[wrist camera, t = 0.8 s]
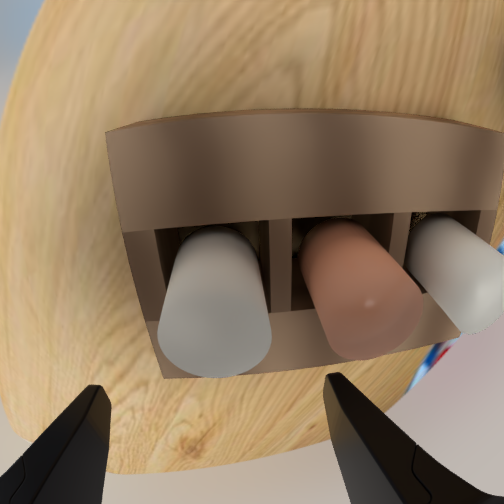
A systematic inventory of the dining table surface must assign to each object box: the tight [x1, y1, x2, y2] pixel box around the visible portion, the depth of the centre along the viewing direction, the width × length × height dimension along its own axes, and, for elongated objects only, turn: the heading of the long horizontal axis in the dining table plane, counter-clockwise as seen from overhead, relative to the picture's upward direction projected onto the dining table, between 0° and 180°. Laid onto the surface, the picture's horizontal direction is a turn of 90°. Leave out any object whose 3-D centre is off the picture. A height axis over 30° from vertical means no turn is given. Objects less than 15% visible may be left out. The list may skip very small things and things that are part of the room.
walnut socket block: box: [105, 109, 504, 379], centre depth 18 cm, size 20×14×6 cm
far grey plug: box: [404, 213, 504, 335], centre depth 14 cm, size 4×4×6 cm
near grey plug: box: [157, 226, 272, 378], centre depth 13 cm, size 4×4×6 cm
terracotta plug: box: [298, 217, 424, 360], centre depth 14 cm, size 4×4×6 cm
